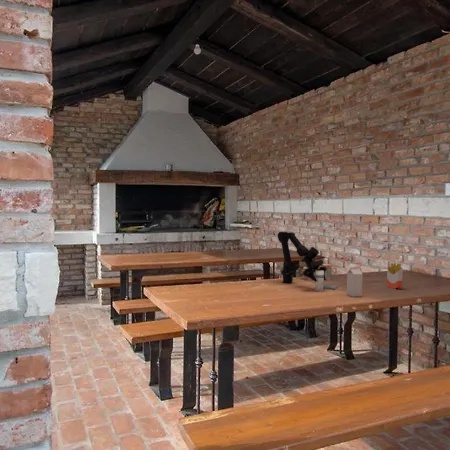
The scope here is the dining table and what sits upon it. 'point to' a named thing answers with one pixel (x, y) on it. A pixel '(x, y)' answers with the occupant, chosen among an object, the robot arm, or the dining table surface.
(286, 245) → the robot arm
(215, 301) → the dining table surface
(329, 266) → the stack of blocks
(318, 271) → the banded post
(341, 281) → the dining table surface
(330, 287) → the slate tile
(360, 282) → the milk carton
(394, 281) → the french fries container
